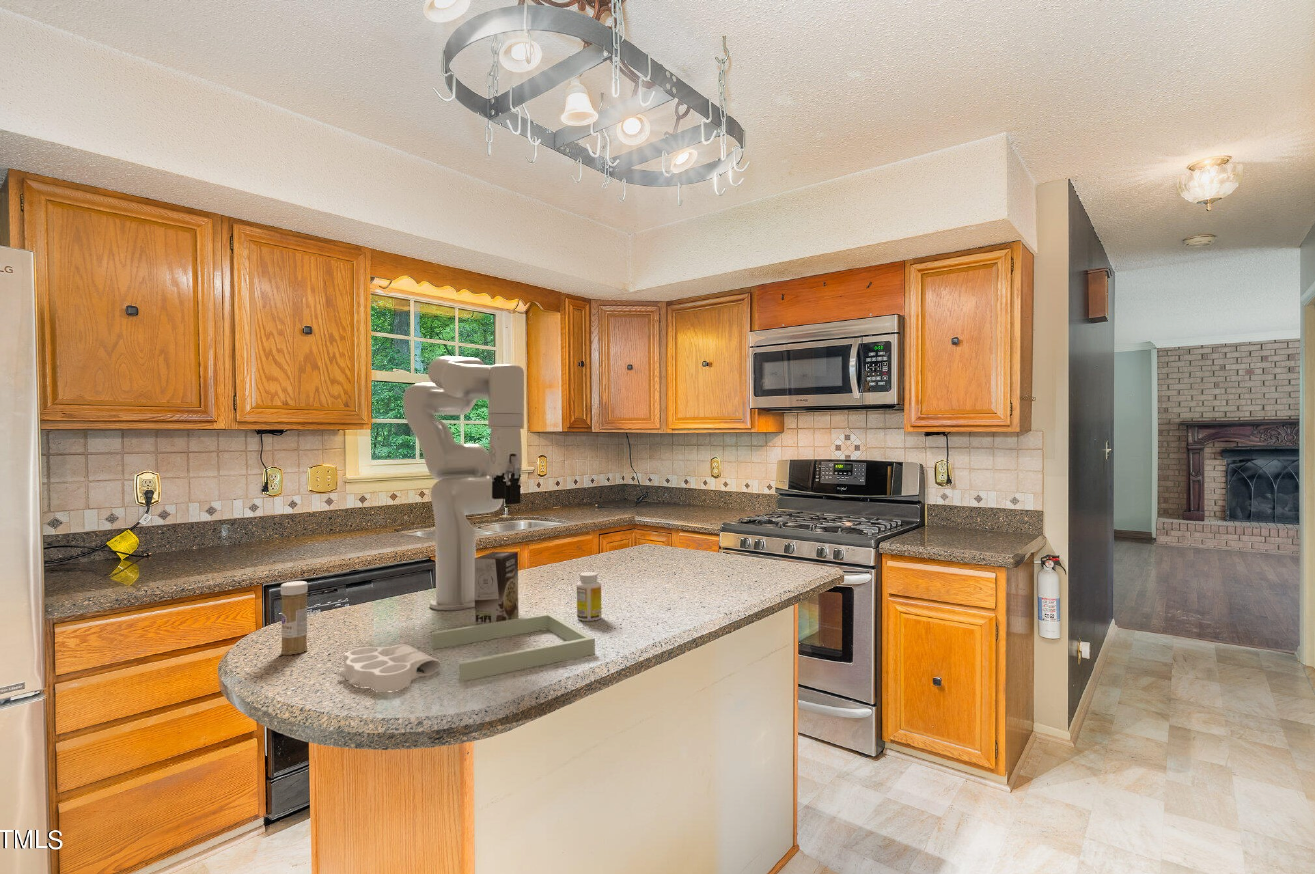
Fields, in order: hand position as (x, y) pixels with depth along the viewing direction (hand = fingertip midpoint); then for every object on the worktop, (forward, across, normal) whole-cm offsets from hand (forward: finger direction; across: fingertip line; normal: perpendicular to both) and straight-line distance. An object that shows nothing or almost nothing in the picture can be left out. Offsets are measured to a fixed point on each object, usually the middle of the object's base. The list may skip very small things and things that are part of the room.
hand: (505, 501), depth 140 cm
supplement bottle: (+28, +3, +18) cm, 33 cm away
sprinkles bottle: (+28, -6, -40) cm, 49 cm away
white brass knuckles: (+28, +17, -26) cm, 42 cm away
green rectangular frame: (+27, +16, -3) cm, 32 cm away
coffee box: (+28, 0, -2) cm, 28 cm away
